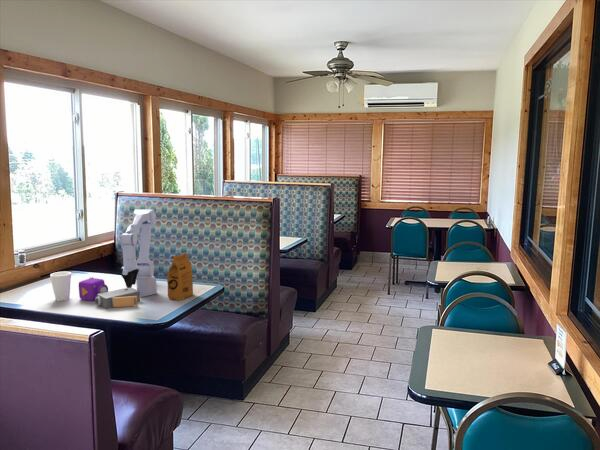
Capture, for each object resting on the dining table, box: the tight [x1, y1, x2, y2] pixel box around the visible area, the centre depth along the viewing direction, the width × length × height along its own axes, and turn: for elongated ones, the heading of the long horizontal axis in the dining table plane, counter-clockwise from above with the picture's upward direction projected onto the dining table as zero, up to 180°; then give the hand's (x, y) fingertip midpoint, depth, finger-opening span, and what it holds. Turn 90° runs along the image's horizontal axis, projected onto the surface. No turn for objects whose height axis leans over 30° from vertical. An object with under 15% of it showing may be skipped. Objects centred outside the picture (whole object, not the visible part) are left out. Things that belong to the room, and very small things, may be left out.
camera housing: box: [94, 287, 141, 310], centre depth 249 cm, size 19×10×6 cm, turn 134°
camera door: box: [112, 296, 138, 308], centre depth 243 cm, size 11×1×4 cm, turn 104°
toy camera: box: [78, 276, 109, 302], centre depth 256 cm, size 11×14×10 cm
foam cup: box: [49, 271, 72, 302], centre depth 255 cm, size 10×9×13 cm
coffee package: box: [166, 252, 194, 301], centre depth 257 cm, size 10×12×22 cm
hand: (131, 285), depth 245 cm, fingers open, 5 cm apart
